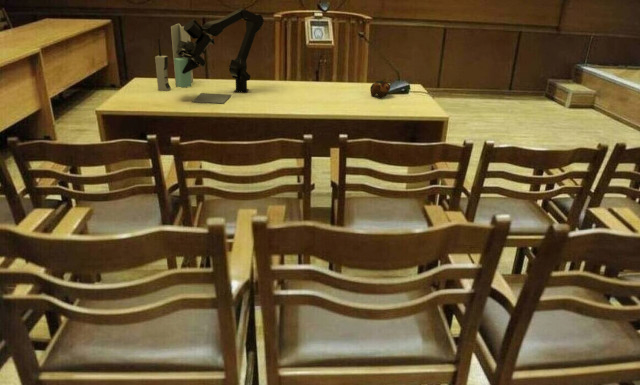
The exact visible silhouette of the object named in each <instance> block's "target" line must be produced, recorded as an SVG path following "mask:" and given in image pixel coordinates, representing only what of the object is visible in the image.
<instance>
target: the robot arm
mask: <svg viewBox="0 0 640 385" xmlns="http://www.w3.org/2000/svg"><path fill="white" fill-rule="evenodd" d="M241 20H243V21H246V22H245V29H246V30H245V32H244V35H243V36H244V37H243V39H242V42H241V45H240V48H239V51H238V53H237V57H236V58H235V59H231V60H230V64H229V66H228V68H229V69H228V70H229V73H230V75H231V76H232V79H234V80H235V89H234V90H233V93H242V94H243V93H244V94H245V93H248V92H249V90H250V89H249V88H248V81H251V75H250V74H249V73H248V72H247V70H248V64H247V61H248V57H249V54H250V52H251V49H252V46H253V43H254V40H255V37H256V34H257V33H259V31H260V30H261V29H262V27H263V25H264V22H265V21H264V20H265V19H264V17H263V15H261V14H258V13H254V12H251V11H248V10H247V9H245V8H237V9H236V10H235V11H232V12H231V13H229V14H227V15H225V16H224V17H222V18H219V19H215V20H211V21H210V20H209V21H207V22H205V23H204V25H200V24H199V22H198V21H197V19H194V18H193V19H191V20H189V21H188V22H187V23H186V24H184V31H185V32H186V33H188V34H189V35H190V38H191V39H193V40H194V41H193V42H192V41H191V42H190V41H187V42H184V41H181V40H179V43H178V47H179V48H183V49H185V50H182V49H178V50H177V52H176V53H177V54H178V55H179V58H187V59H188V63H187V64H186V66H185V68H184V69H183V71H182V73H183V74H185V73H187V72H189V71H191V70H195V69H197V68H199V67H203V68H204V67H205V66H206V65H207V61H206V60H205V59H204V58H203V57H202V54H204V55H205V53H206V51H205V50H206V49H207V48H208V47H209V45H215V44H216V43H215V39H214V38H213V37H218V36H219V35H220V34H222V33H223V32H224V30H225V29H226V28H228V27H229V26H232V25H234V24H235V23H237V22H239V21H241ZM195 39H196V40H195Z"/></svg>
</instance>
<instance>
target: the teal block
mask: <svg viewBox="0 0 640 385" xmlns="http://www.w3.org/2000/svg"><path fill="white" fill-rule="evenodd" d="M174 63H175V72H174V74H175V73H176V84H177V88H182V89H183V88H186V87H187V88H190V87H192V83H191V74H190V71H189V72H187V73H185V74H183V73H182V71H183V69H184V68H185V66H186V64H187V63H188V59H187V58H175V59H174V60H173V64H174ZM176 84H175V85H176Z"/></svg>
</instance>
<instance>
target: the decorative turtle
mask: <svg viewBox="0 0 640 385" xmlns="http://www.w3.org/2000/svg"><path fill="white" fill-rule="evenodd" d="M369 90H370V95H371V97H374V96H376V95H377V96H378V97H379V98H380V99H382V98H384V97H386V96H388V94H389V92H390V90H391V85H390V84H389V83H388V82H386V81H385V80H377V81H374V83H372V84H371V86H370V89H369Z"/></svg>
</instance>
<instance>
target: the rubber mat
mask: <svg viewBox="0 0 640 385" xmlns="http://www.w3.org/2000/svg"><path fill="white" fill-rule="evenodd" d="M231 97H232V94H225V93H209V92H208V93H206V92H201V93H199V94H198V95H197V96H196V97H195V98H194V99H193V100H191V103H193V104H194V103H200V104H214V105H217V104H218V105H225V103H226V102H227V101H228V100H229V99H230V98H231Z"/></svg>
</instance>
